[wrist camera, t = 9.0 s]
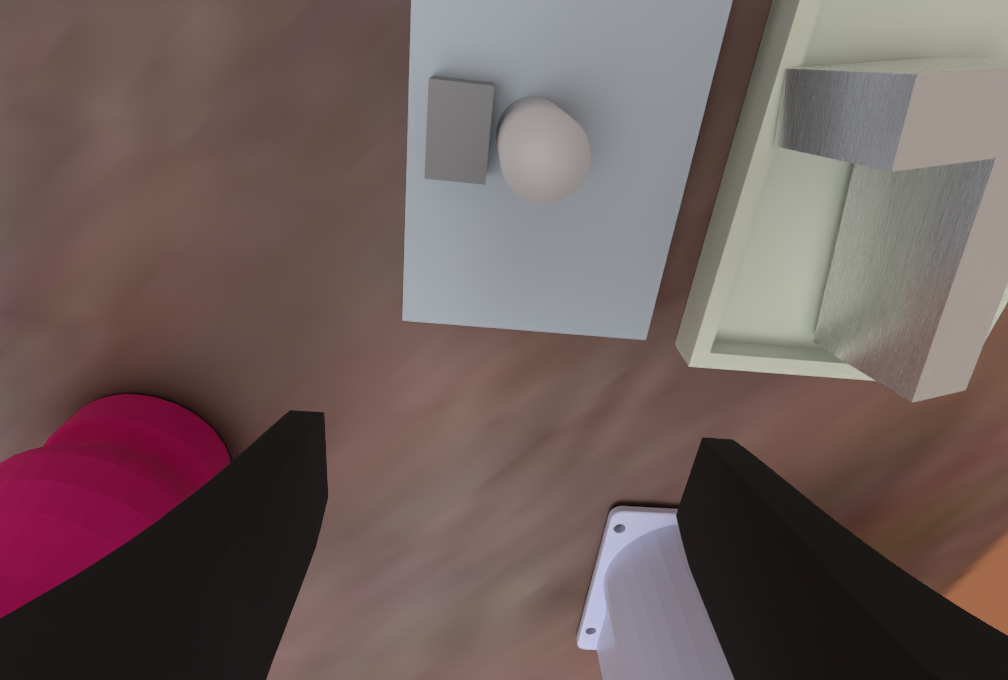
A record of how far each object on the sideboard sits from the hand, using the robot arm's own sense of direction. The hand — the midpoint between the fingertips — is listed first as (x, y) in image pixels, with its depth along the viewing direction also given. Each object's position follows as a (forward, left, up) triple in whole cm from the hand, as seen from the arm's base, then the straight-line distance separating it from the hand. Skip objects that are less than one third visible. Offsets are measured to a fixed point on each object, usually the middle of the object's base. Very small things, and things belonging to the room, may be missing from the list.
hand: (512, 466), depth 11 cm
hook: (+3, -10, -9) cm, 14 cm away
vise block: (+5, -1, -10) cm, 11 cm away
